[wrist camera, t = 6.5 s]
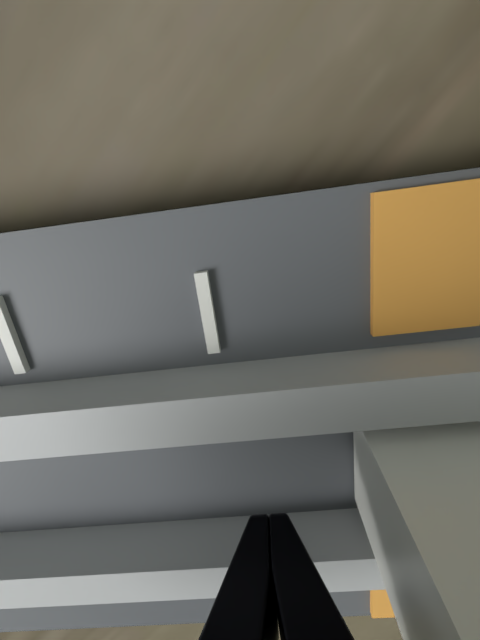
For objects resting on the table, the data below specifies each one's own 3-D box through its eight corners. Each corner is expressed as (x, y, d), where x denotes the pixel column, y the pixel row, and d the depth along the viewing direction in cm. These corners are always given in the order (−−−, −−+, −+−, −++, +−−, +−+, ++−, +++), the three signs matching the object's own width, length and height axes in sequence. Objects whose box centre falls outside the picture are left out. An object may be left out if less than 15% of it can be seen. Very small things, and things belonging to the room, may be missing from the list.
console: (598, 543, 13) (717, 661, 10) (-37, 579, 15) (-119, 689, 12) (729, 132, 8) (1049, 89, 5) (-225, 264, 10) (-455, 296, 7)
